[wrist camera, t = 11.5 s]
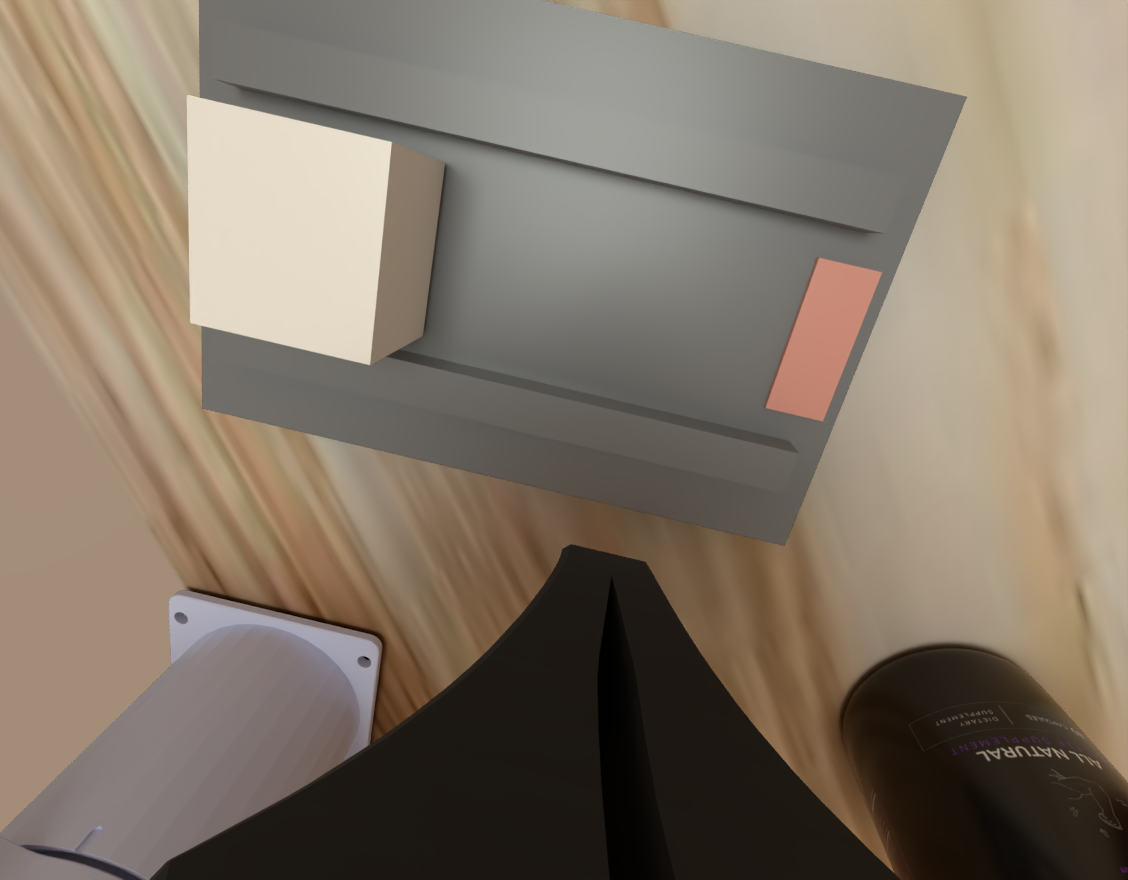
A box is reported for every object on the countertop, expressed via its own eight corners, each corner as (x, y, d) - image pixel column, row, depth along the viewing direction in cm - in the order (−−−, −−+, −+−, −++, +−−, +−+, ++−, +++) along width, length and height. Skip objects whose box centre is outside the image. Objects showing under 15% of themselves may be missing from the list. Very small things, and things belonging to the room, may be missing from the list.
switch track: (772, 522, 19) (794, 564, 16) (233, 395, 19) (178, 418, 17) (933, 109, 15) (993, 87, 12) (238, -49, 15) (166, -102, 12)
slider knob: (422, 336, 16) (369, 365, 13) (280, 302, 16) (190, 322, 13) (445, 162, 14) (391, 142, 11) (288, 125, 14) (187, 94, 11)
